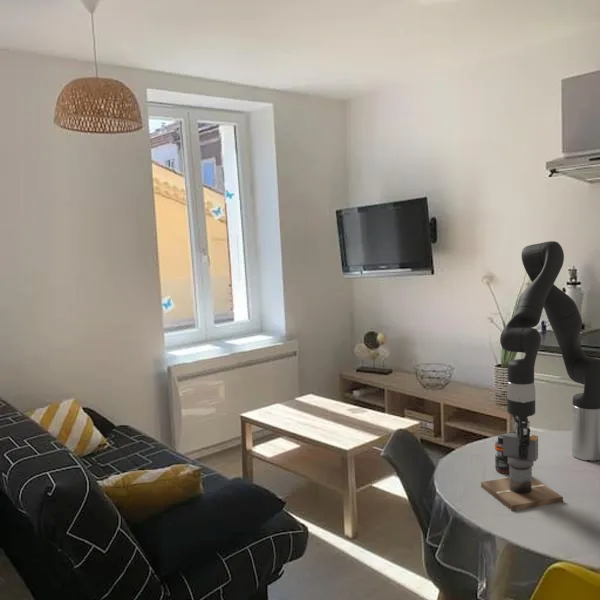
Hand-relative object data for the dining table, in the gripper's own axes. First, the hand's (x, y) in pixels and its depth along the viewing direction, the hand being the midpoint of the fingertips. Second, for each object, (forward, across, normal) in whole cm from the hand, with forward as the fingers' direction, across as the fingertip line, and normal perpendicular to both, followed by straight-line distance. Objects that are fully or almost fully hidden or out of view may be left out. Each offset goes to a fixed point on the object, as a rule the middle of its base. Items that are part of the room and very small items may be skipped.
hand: (521, 454), depth 172 cm
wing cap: (+3, 0, 0) cm, 3 cm away
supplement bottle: (+12, -17, -2) cm, 21 cm away
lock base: (+12, 0, 0) cm, 12 cm away
